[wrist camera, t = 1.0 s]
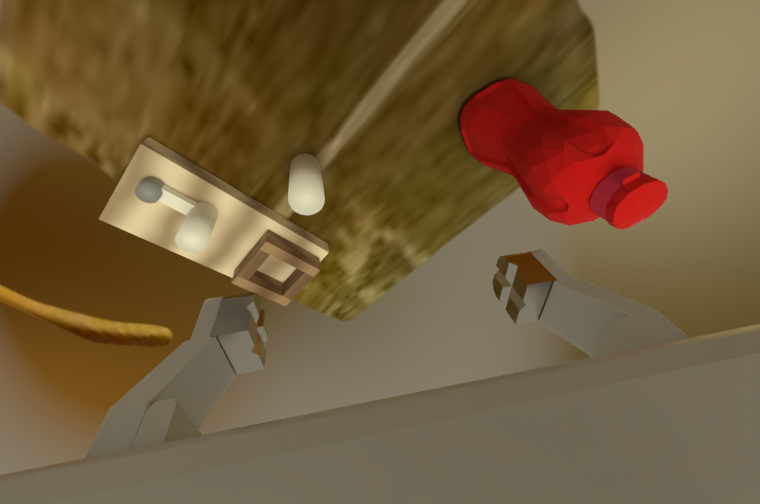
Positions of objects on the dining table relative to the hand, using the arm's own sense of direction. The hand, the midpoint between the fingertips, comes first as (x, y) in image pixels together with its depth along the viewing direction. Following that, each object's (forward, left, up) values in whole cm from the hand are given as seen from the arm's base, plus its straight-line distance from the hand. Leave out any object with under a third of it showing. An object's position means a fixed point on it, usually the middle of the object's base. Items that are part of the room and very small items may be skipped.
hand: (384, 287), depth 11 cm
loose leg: (+4, -9, -34) cm, 36 cm away
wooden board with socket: (+1, -23, -34) cm, 42 cm away
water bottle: (+20, +12, -35) cm, 42 cm away
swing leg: (-6, -21, -32) cm, 39 cm away
